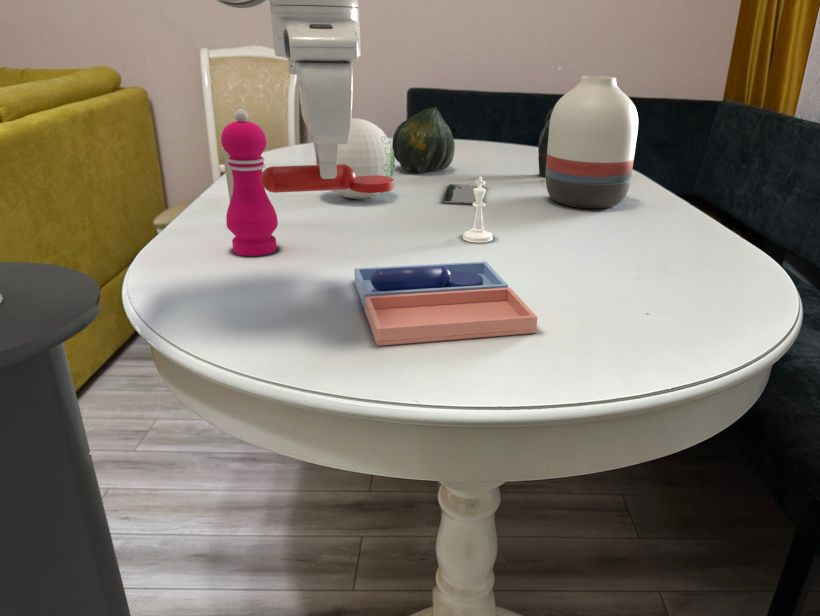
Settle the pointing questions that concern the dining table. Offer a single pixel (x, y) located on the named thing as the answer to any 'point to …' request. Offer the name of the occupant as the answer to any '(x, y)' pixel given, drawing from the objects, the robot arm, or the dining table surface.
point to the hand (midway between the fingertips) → (326, 174)
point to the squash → (424, 142)
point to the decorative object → (366, 154)
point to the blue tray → (480, 268)
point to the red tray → (448, 316)
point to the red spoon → (321, 180)
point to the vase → (591, 145)
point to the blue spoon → (422, 278)
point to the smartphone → (460, 194)
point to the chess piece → (478, 218)
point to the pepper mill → (248, 189)
